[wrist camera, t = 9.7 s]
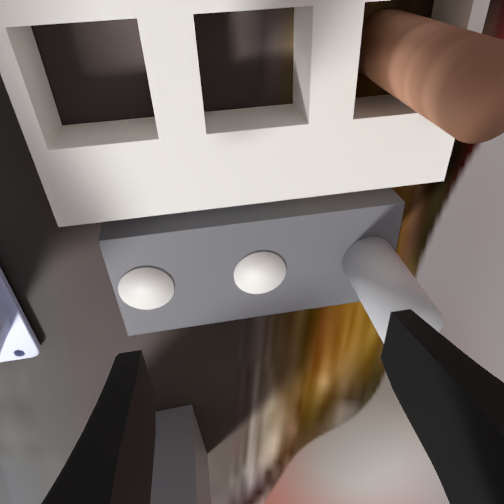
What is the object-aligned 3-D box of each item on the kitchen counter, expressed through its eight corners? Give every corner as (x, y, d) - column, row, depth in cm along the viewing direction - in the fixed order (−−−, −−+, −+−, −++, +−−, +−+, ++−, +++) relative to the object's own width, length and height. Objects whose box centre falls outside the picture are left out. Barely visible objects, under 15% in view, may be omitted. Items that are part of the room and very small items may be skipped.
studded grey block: (130, 315, 23) (119, 423, 18) (102, 222, 19) (79, 324, 14) (375, 280, 24) (431, 370, 19) (391, 188, 21) (465, 268, 16)
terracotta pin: (349, 82, 17) (433, 147, 12) (356, 10, 16) (456, 47, 10) (409, 76, 18) (519, 138, 12) (421, 5, 16) (553, 38, 11)
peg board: (70, 196, 18) (58, 227, 16) (-32, -103, 12) (-70, -112, 10) (416, 157, 20) (443, 180, 18) (473, -122, 14) (524, -133, 12)
